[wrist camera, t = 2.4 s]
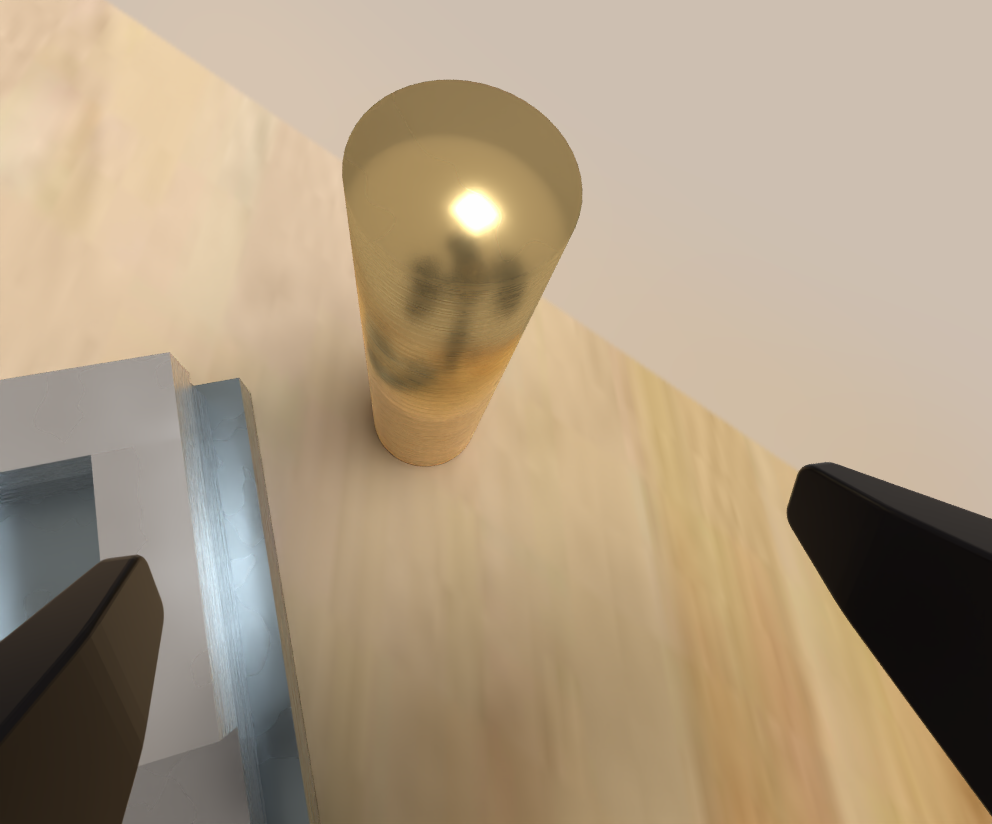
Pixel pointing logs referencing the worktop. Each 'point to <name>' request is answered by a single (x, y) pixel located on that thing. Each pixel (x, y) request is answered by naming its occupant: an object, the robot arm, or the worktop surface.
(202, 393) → the tiered gray console
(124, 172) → the worktop surface
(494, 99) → the pin
